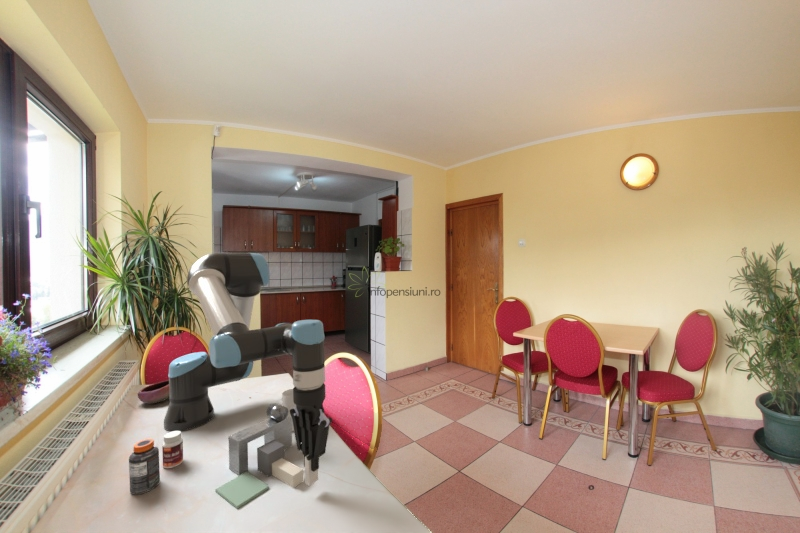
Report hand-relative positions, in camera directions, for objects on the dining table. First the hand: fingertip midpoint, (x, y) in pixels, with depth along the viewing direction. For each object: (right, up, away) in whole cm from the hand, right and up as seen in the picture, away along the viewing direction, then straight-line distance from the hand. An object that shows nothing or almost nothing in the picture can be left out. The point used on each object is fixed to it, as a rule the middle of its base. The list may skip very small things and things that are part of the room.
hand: (311, 481), depth 78 cm
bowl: (-78, -4, +57) cm, 96 cm away
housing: (-18, -3, +15) cm, 24 cm away
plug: (-10, -3, +7) cm, 13 cm away
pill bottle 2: (-43, -4, +13) cm, 45 cm away
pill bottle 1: (-43, -4, +3) cm, 43 cm away
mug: (-14, -3, +33) cm, 36 cm away
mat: (-18, -3, +1) cm, 18 cm away
